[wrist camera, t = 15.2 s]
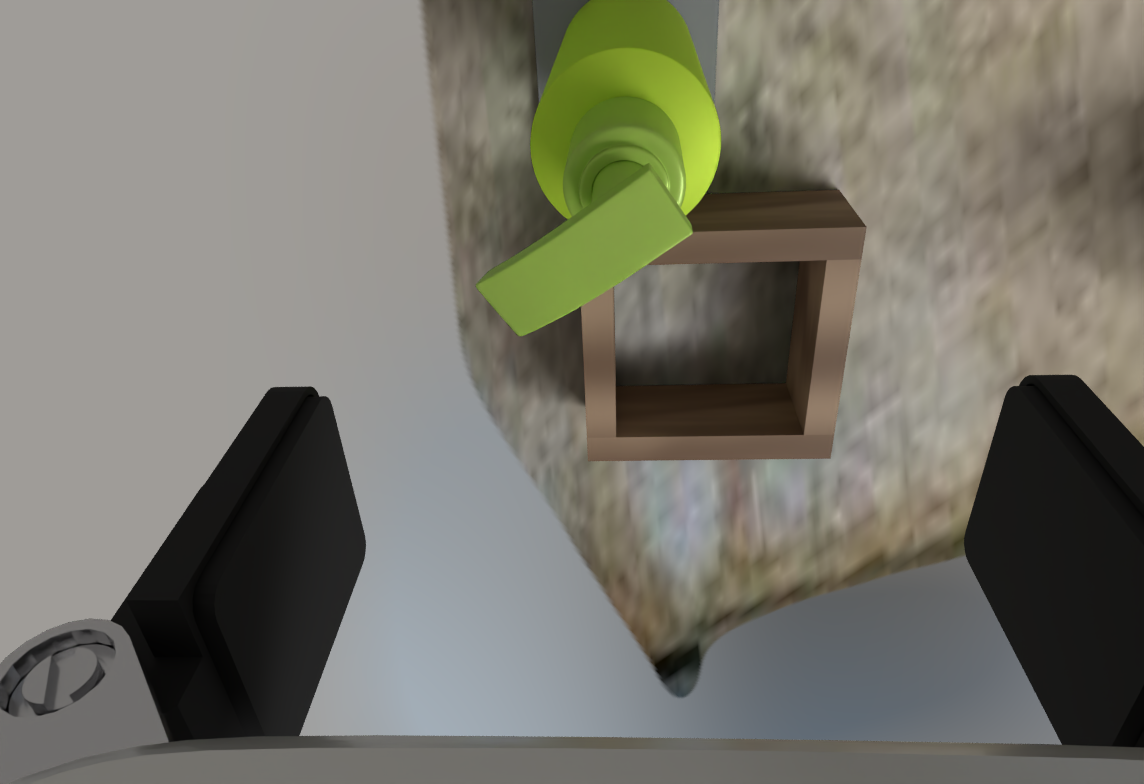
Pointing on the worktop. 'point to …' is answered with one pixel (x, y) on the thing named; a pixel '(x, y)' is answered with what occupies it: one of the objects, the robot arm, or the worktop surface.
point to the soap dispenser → (611, 159)
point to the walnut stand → (740, 411)
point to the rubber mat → (561, 3)
